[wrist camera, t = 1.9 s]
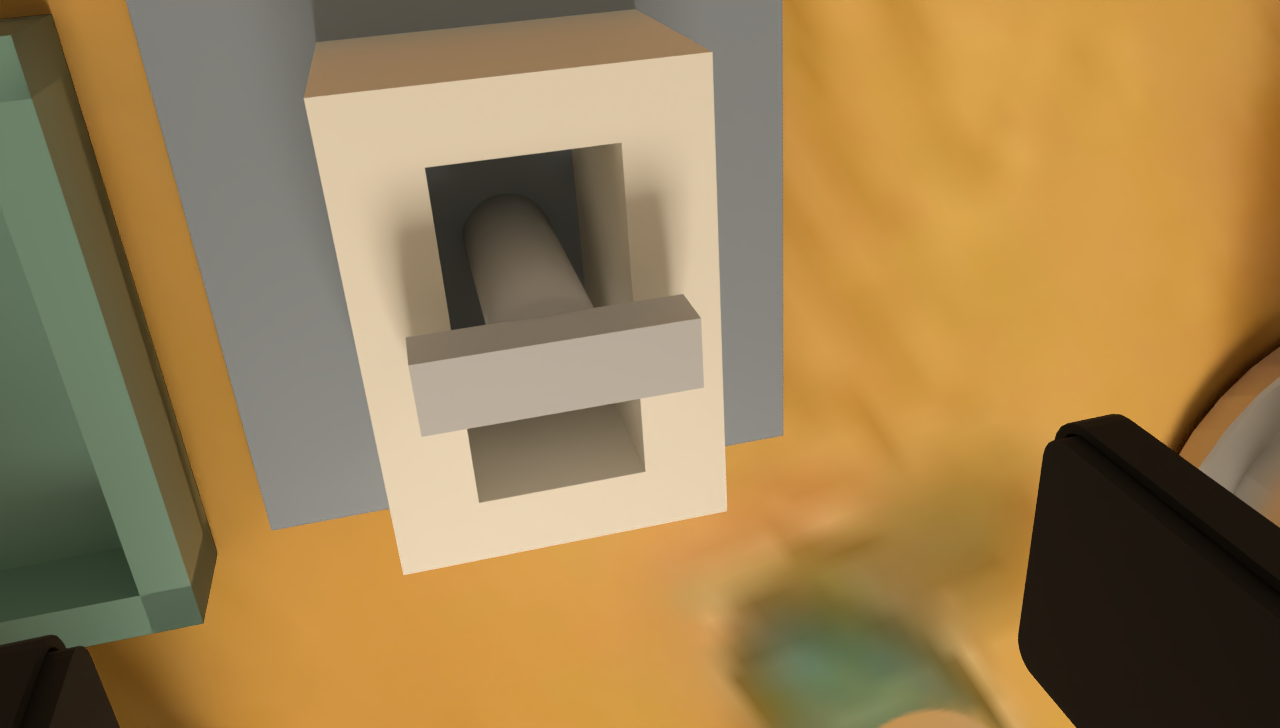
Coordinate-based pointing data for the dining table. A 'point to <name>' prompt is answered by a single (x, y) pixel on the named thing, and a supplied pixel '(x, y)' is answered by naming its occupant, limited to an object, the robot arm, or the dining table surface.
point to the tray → (80, 389)
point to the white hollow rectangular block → (611, 256)
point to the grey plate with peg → (447, 244)
